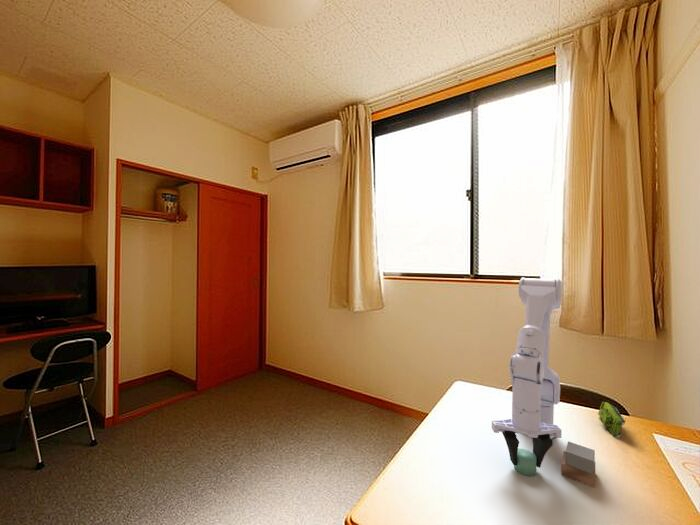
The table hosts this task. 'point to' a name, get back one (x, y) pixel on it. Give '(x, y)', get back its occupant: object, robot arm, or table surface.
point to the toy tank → (611, 419)
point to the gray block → (580, 457)
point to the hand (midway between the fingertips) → (525, 463)
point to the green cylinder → (526, 462)
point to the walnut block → (577, 473)
